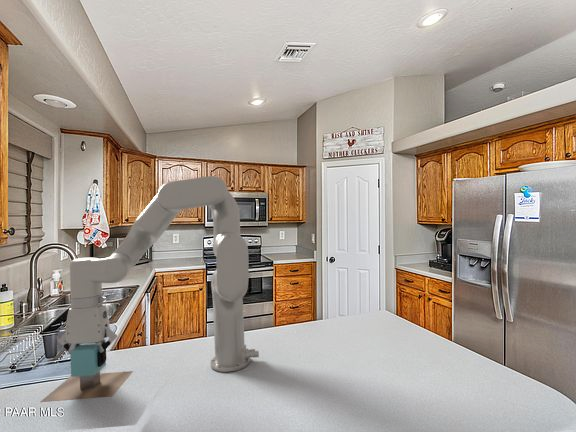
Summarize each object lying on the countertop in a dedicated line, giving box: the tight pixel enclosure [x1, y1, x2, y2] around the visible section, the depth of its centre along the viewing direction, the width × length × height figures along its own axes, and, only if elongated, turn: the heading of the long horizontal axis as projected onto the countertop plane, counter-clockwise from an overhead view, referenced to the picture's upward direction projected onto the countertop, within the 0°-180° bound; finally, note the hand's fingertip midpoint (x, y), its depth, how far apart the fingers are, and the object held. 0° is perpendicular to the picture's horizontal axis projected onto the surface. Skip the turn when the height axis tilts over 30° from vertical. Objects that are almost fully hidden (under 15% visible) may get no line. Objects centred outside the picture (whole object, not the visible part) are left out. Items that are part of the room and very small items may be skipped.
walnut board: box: [39, 370, 134, 403], centre depth 92 cm, size 18×14×2 cm
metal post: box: [80, 370, 101, 389], centre depth 92 cm, size 4×4×6 cm
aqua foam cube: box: [69, 343, 107, 377], centre depth 92 cm, size 6×6×7 cm
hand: (88, 364), depth 92 cm, fingers closed on aqua foam cube, 6 cm apart
